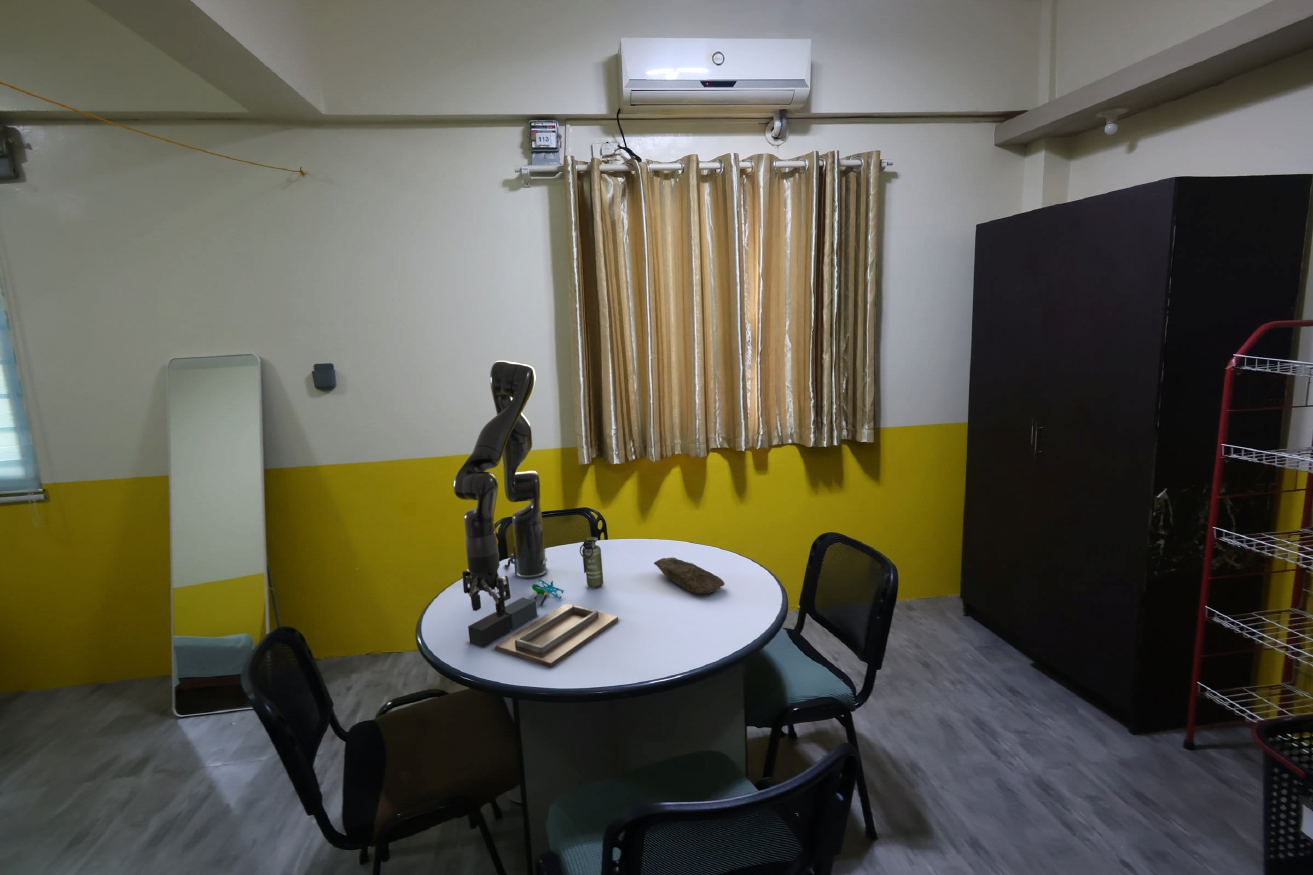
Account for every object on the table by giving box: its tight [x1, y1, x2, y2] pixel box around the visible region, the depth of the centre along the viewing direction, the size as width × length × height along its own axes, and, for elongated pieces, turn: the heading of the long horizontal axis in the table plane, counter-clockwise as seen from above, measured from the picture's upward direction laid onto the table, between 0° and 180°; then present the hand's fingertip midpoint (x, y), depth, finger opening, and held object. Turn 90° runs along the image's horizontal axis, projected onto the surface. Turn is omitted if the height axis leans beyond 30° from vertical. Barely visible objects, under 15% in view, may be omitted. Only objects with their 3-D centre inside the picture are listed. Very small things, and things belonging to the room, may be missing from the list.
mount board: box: [494, 603, 619, 669], centre depth 154 cm, size 18×26×3 cm
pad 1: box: [467, 611, 511, 648], centre depth 155 cm, size 5×9×4 cm, turn 148°
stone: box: [653, 557, 726, 594], centre depth 183 cm, size 11×27×6 cm, turn 34°
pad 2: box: [505, 596, 538, 631], centre depth 163 cm, size 5×9×4 cm, turn 148°
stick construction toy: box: [531, 578, 565, 607], centre depth 175 cm, size 12×7×8 cm
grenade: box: [579, 536, 604, 589], centre depth 182 cm, size 6×6×15 cm
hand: (488, 612), depth 154 cm, fingers open, 8 cm apart
